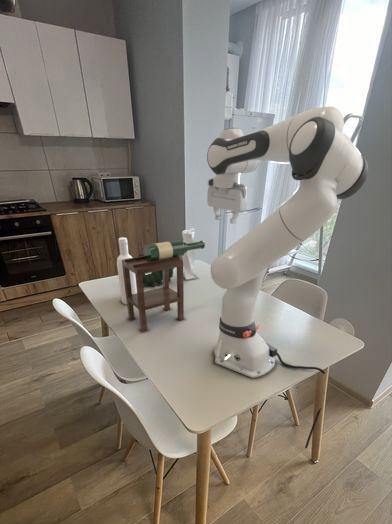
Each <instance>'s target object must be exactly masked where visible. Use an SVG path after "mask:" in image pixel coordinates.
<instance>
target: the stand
mask: <svg viewBox="0 0 392 524" xmlns="http://www.w3.org/2000/svg"><path fill="white" fill-rule="evenodd" d="M122 267H123V275H124V284H125V292H126V300H127V304H126V307H127V316H128V319H129V320H130V321H133V320H135V309H134V308H136V309H137V310H138V316H139V325H140V326H139V327H140V331H141V332H142V333H143V332H147V331H148V325H147V323H148V322H147V311H148V310H151V309H155V308H159V307H163V309H164V310H165V311H169V310H171V304H174V303H176V305H177V308H176V309H177V319H178V321H183V320H184V319H185V311H184V310H185V308H184V307H185V305H184V304H185V303H184V302H185V301H184V300H185V299H184V298H185V295H184V294H185V293H184V289H185V288H184V287H185V286H184V278H183V274H184V266H183V259H180V257H179V256H177V257H171V258H166V259H160V260H155V261H149V262H148V261H147V260H146V259H145V256H140V257H138V256H135V257H132V258H128V259H124V260H122ZM170 268H174V269H175V268H176V291H175V290H173V288H171V287H170V282H169V269H170ZM129 270H131V271H132V272H134V273H135V277H136V287H137V293H136V294H132V290H131V281H130V272H129ZM161 270H162V271H163V280H162V287H157V288H153V289H149V290H145V289H144V285H143V276H142V274H145V275H147V274H151V273H152V272H156V271H161ZM144 290H145V291H144Z"/></svg>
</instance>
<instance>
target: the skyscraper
mask: <svg viewBox="0 0 392 524" xmlns="http://www.w3.org/2000/svg"><path fill="white" fill-rule="evenodd" d="M192 230H193V231H192ZM181 234H182V235H181V236H182V239H183V240H182V242H185V243H186V244H187V243H193V242H194V238H195V234H196V231H195V228H190V229H187V230H186V229H184V230H183V231H182V232H181ZM181 258H182V261H183V280H185V281H190V280H191V281H192V280H197V279H198V277H197V276H196V275H194V265H195V259H196V249H194V250H189V251H187V253H184V255H183V256H181Z"/></svg>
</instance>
